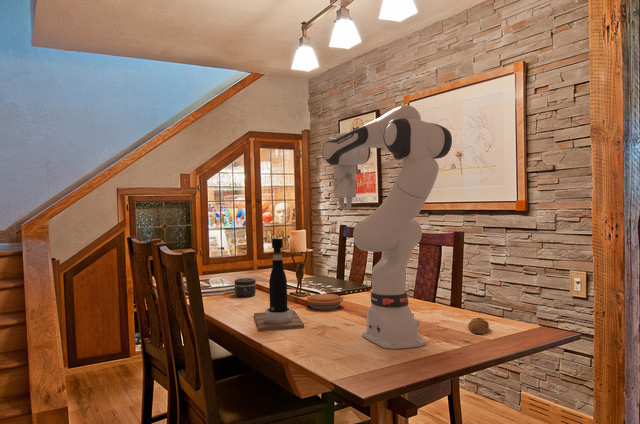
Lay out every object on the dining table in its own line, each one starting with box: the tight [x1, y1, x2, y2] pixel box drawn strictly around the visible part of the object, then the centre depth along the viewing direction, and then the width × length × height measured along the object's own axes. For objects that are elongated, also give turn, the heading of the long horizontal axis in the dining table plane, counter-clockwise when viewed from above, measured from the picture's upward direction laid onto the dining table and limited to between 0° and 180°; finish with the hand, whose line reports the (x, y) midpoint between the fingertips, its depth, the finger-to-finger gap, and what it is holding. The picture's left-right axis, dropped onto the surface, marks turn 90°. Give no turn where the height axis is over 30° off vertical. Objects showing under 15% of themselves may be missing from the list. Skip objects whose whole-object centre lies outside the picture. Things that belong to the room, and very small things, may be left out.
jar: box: [234, 277, 257, 298], centre depth 229 cm, size 10×10×8 cm
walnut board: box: [253, 309, 305, 332], centre depth 180 cm, size 22×16×1 cm
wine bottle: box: [268, 238, 288, 312], centre depth 176 cm, size 6×6×30 cm
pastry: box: [467, 317, 490, 335], centre depth 163 cm, size 9×7×4 cm
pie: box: [306, 293, 344, 311], centre depth 202 cm, size 16×16×5 cm
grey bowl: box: [264, 306, 293, 324], centre depth 177 cm, size 10×10×4 cm
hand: (345, 209), depth 192 cm, fingers open, 8 cm apart
